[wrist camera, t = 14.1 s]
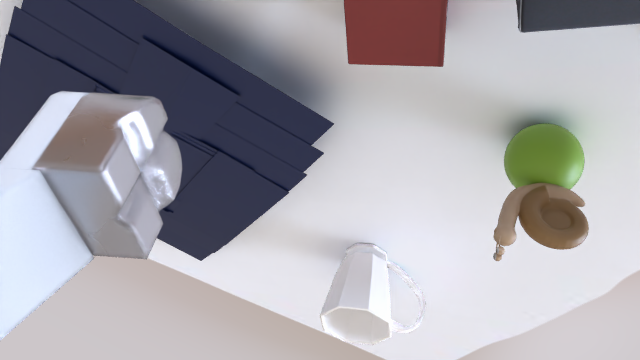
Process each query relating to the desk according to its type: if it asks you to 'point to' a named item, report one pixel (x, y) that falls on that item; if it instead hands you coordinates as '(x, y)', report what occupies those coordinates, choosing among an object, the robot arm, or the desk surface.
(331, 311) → the cup
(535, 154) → the snail figurine
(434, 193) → the desk surface
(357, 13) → the pocket dictionary
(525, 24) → the small box
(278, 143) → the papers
